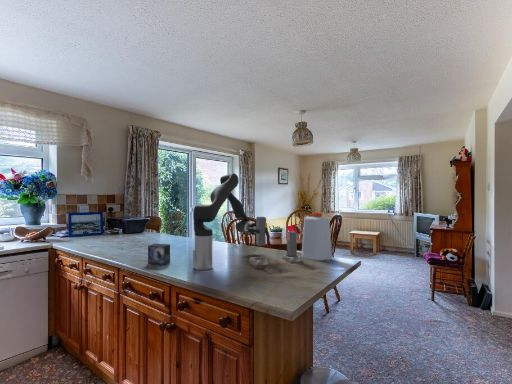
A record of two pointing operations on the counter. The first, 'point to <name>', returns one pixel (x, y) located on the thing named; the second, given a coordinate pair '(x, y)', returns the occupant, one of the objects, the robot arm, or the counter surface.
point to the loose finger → (260, 226)
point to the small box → (159, 254)
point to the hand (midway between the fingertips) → (262, 231)
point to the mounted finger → (291, 244)
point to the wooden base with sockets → (272, 261)
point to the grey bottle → (316, 238)
